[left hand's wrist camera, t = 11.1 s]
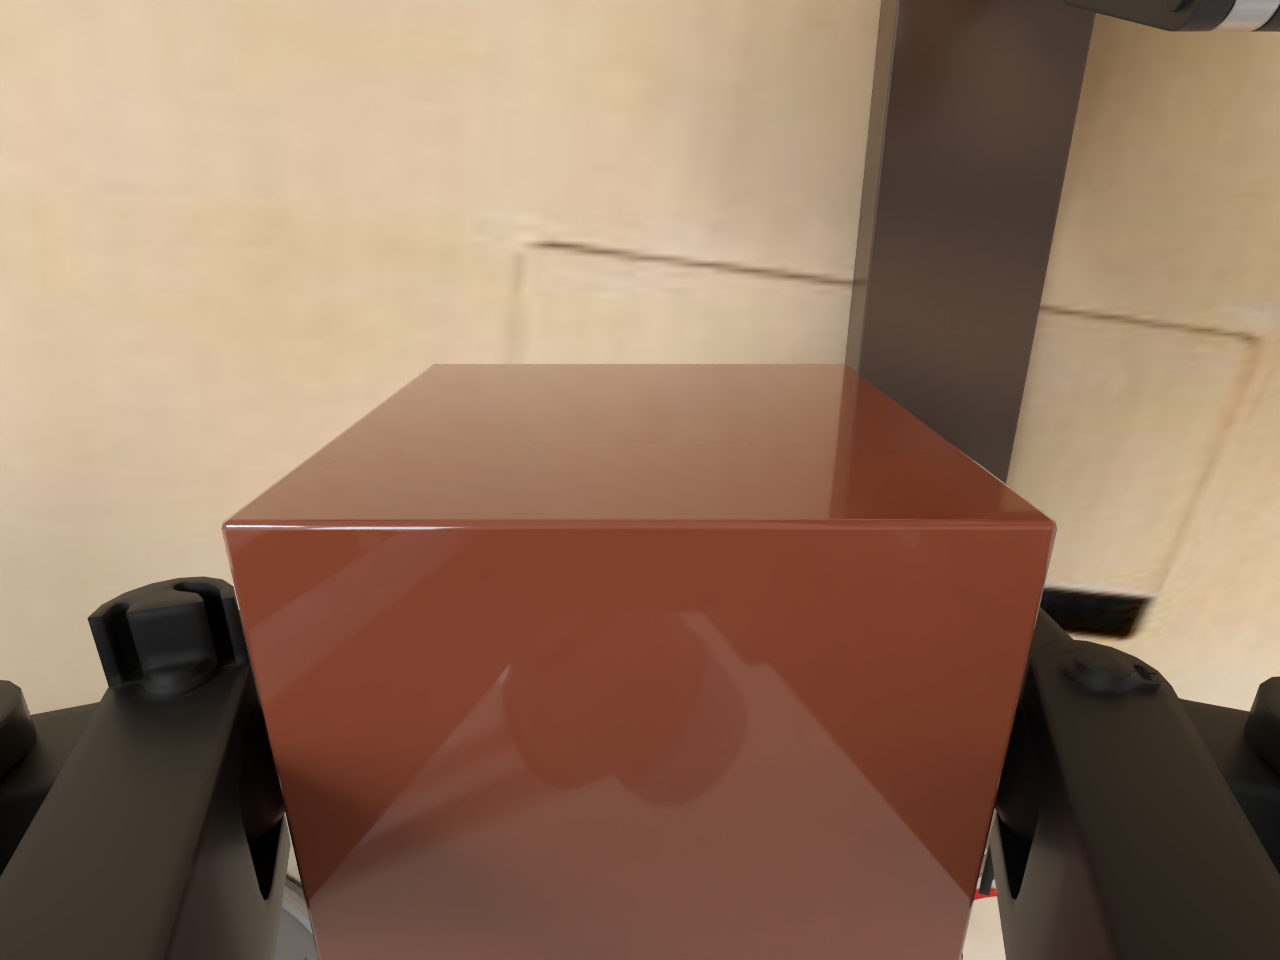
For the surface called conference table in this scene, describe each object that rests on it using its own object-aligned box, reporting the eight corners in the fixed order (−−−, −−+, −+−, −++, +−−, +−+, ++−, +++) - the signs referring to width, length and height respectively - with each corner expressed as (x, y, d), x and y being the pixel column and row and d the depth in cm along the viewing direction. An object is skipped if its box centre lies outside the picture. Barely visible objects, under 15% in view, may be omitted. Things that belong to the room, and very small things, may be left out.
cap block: (812, 706, 13) (939, 1070, 8) (466, 706, 13) (340, 1070, 8) (847, 363, 11) (1061, 522, 5) (430, 363, 11) (215, 523, 5)
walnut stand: (972, 540, 34) (1081, 646, 26) (826, 540, 34) (888, 647, 26) (1104, -201, 25) (1348, -415, 16) (901, -201, 25) (1038, -415, 16)
